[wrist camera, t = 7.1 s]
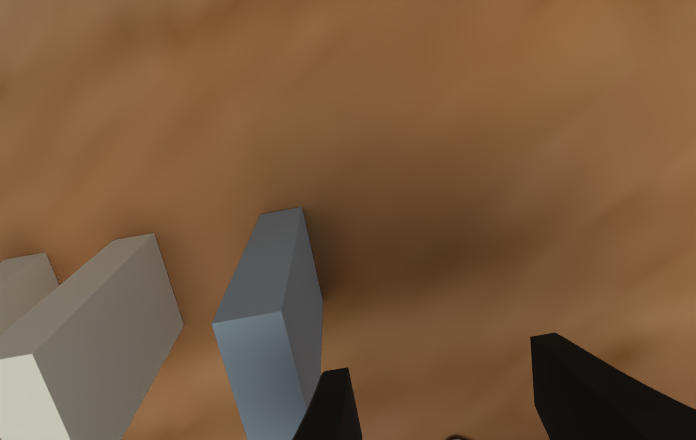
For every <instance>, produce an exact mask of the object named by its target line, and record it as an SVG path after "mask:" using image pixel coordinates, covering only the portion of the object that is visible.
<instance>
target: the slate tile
mask: <svg viewBox="0 0 696 440" xmlns="http://www.w3.org/2000/svg"><path fill="white" fill-rule="evenodd" d="M322 317H323V299H322V295H321V290H320V286H319V281H318V277H317V272H316V268H315V264H314V259H313V255H312V250H311V246H310V241H309V237H308V232H307V228H306V223H305V219H304V214H303V210H302V207H298V208H293V209H287V210H282V211H276V212H271V213H266V214H260V217H259V219H258V221H257V223H256V226H255V228H254V230H253V232H252V235H251V237H250V239H249V241H248V243H247V246H246V248H245V250H244V252H243V255H242V257H241V259H240V261H239V264H238V266H237V268H236V270H235V272H234V275H233V277H232V279H231V281H230V284H229V286H228V288H227V290H226V292H225V295H224V297H223V299H222V301H221V304H220V306H219V308H218V310H217V313H216V315H215V317H214V319H213V321H212V327H213V330H214V333H215V336H216V340H217V343H218V346H219V349H220V353H221V356H222V359H223V362H224V365H225V369H226V372H227V375H228V378H229V382H230V385H231V388H232V391H233V394H234V398H235V401H236V404H237V407H238V411H239V414H240V417H241V420H242V423H243V427H244V430H245V433H246V436H247V440H292V439H293V437H294V435H295V433H296V431H297V429H298V427H299V425H300V423H301V421H302V419H303V417H304V415H305V413H306V411H307V409H308V406H309V404H310V402H311V400H312V397H313V395H314V392H315V390H316V387H317V384H318V382H319V379H320V375H321V346H322Z"/></svg>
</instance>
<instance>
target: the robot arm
mask: <svg viewBox="0 0 696 440" xmlns="http://www.w3.org/2000/svg"><path fill="white" fill-rule="evenodd" d="M530 339H531V355H532V371H533V387H534V403H535V407H536V409H537V412H538V414H539V416H540V418H541V421H542V423H543V425H544V427H545V429H546V432H547V434H548V436H549V438H550V440H696V410H695V409H693V408H691V407H689V406H687V405H685V404H682V403H680V402H678V401H676V400H674V399H672V398H670V397H668V396H666V395H664V394H662V393H660V392H658V391H656V390H654V389H652V388H650V387H648V386H646V385H645V384H643V383H641V382H639V381H637V380H635V379H634V378H632V377H630V376H628V375H626V374H625V373H623V372H621V371H619V370H618V369H616V368H614V367H612V366H611V365H609V364H607V363H605V362H604V361H602V360H600V359H599V358H597V357H595V356H594V355H592V354H590V353H589V352H587V351H585V350H584V349H582V348H580V347H579V346H577V345H576V344H574V343H572V342H571V341H569V340H567V339H566V338H564V337H562V336H560V335H559V334H557V333H550V334H544V335H538V336H532V337H530ZM292 440H362V433H361V428H360V423H359V418H358V413H357V408H356V403H355V399H354V394H353V389H352V384H351V379H350V374H349V369H348V368H342V369H336V370H330V371H324V372H323V373H322V375H321V376H320V379H319V382H318V384H317V387H316V390H315V392H314V395H313V397H312V400H311V402H310V404H309V406H308V409H307V411H306V413H305V415H304V417H303V419H302V421H301V423H300V425H299V427H298V429H297V431H296V433H295V435H294V437H293V439H292ZM453 440H460V439H453Z"/></svg>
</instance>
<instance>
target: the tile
mask: <svg viewBox="0 0 696 440" xmlns="http://www.w3.org/2000/svg"><path fill="white" fill-rule="evenodd" d="M58 286H59V284H58V281H57V279H56V276H55V274H54V271H53V269H52V266H51V264H50V261H49V259H48V257H47V254H46V252H44V253H39V254H33V255H27V256H22V257H16V258H10V259H5V260H4V261H2V262H0V335H1V334H2V333H3V332H5V331H6V330H7V329H8V328H9V327H10V326H12V325H13V324H14V323H15V322H16V321H18V320H19V319H20V318H21V317H22V316H24V315H25V314H26V313H27V312H28V311H30V310H31V309H32V308H33V307H34V306H35V305H37V304H38V303H39V302H40V301H41V300H43V299H44V298H45V297H46V296H47V295H49V294H50V293H51V292H52V291H53V290H55V289H56V288H57V287H58Z"/></svg>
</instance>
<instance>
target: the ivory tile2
mask: <svg viewBox="0 0 696 440" xmlns="http://www.w3.org/2000/svg"><path fill="white" fill-rule="evenodd" d="M183 326H184V324H183V321H182V318H181V315H180V312H179V308H178V305H177V302H176V299H175V296H174V293H173V290H172V287H171V284H170V281H169V277H168V274H167V271H166V268H165V265H164V262H163V259H162V256H161V253H160V250H159V246H158V243H157V240H156V237H155V234H154V233H151V234H145V235H139V236H134V237H128V238H122V239H117V240H113V241H112V242H110V243H109V244H108V245H107V246H106V247H105V248H103V249H102V250H101V251H100V252H99V253H97V254H96V255H95V256H94V257H93V258H91V259H90V260H89V261H88V262H87V263H85V264H84V265H83V266H82V267H81V268H80V269H78V270H77V271H76V272H75V273H74V274H72V275H71V276H70V277H69V278H68V279H66V280H65V281H64V282H63V283H62V284H60V285H59V286H58V287H57V288H56V289H55V290H53V291H52V292H51V293H50V294H49V295H47V296H46V297H45V298H44V299H43V300H41V301H40V302H39V303H38V304H37V305H35V306H34V307H33V308H32V309H31V310H30V311H28V312H27V313H26V314H25V315H24V316H22V317H21V318H20V319H19V320H18V321H16V322H15V323H14V324H13V325H12V326H10V327H9V328H8V329H7V330H6V331H5V332H3V333H2V334H1V335H0V438H1V440H121V439H122V437H123V435H124V434H125V432H126V430H127V428H128V426H129V424H130V423H131V421H132V419H133V417H134V415H135V414H136V412H137V410H138V408H139V406H140V404H141V403H142V401H143V399H144V397H145V395H146V394H147V392H148V390H149V388H150V386H151V385H152V383H153V381H154V379H155V377H156V375H157V374H158V372H159V370H160V368H161V366H162V365H163V363H164V361H165V359H166V357H167V355H168V354H169V352H170V350H171V348H172V346H173V345H174V343H175V341H176V339H177V337H178V335H179V334H180V332H181V330H182V328H183Z"/></svg>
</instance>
